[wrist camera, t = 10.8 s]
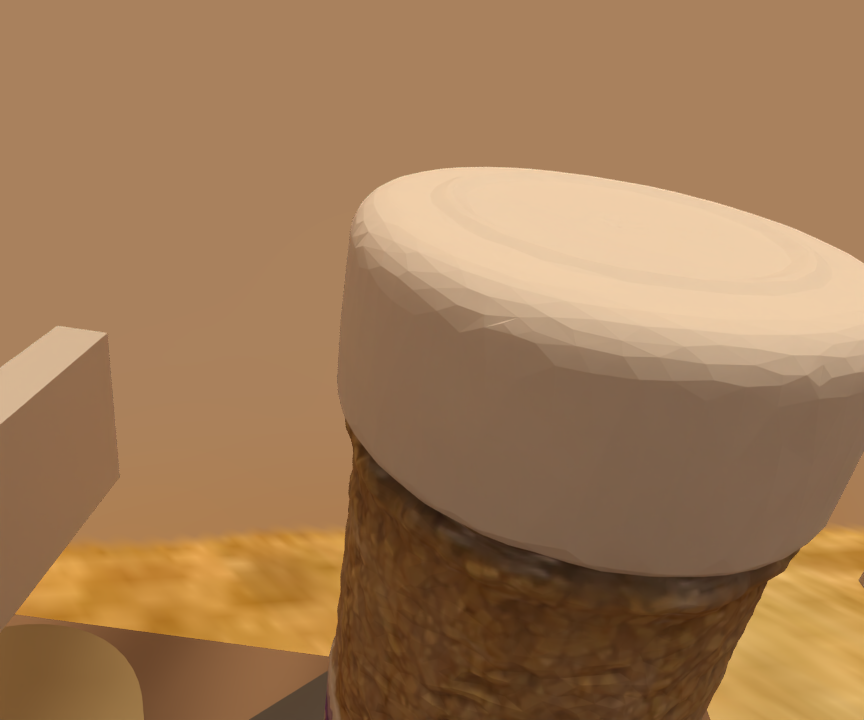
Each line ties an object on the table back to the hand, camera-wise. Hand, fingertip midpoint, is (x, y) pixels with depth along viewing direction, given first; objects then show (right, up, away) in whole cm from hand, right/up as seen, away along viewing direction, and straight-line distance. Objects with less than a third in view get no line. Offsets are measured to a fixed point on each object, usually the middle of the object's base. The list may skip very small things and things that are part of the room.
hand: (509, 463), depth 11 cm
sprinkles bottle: (-1, -9, +1) cm, 9 cm away
